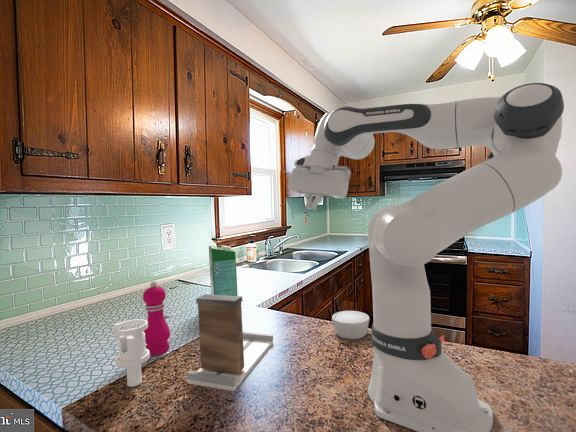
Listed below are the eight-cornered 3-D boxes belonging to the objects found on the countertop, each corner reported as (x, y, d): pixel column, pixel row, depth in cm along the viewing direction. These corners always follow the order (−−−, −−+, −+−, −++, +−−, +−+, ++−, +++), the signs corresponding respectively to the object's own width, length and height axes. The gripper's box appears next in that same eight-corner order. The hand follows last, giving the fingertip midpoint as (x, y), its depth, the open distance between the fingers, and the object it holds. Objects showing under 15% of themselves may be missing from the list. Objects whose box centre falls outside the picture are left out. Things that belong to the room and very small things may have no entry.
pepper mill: (161, 357, 85) (157, 284, 84) (138, 355, 86) (133, 284, 85) (176, 345, 92) (172, 278, 91) (154, 344, 93) (150, 278, 92)
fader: (208, 361, 78) (204, 294, 77) (245, 366, 75) (242, 296, 74) (199, 369, 75) (196, 298, 74) (238, 374, 71) (235, 301, 71)
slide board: (236, 339, 94) (236, 331, 94) (273, 343, 90) (273, 334, 90) (187, 383, 71) (187, 372, 71) (234, 391, 68) (233, 380, 67)
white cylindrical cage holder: (113, 383, 73) (109, 320, 72) (144, 371, 78) (141, 312, 77) (123, 396, 68) (118, 328, 67) (155, 382, 72) (152, 319, 72)
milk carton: (238, 308, 122) (235, 245, 121) (215, 312, 119) (211, 247, 118) (233, 302, 130) (230, 243, 129) (211, 305, 127) (208, 245, 126)
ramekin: (326, 330, 98) (325, 313, 98) (356, 323, 102) (355, 308, 102) (344, 344, 88) (344, 326, 88) (377, 336, 92) (376, 319, 92)
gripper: (357, 170, 89) (345, 216, 88) (302, 167, 103) (291, 207, 102) (347, 162, 85) (334, 211, 84) (291, 160, 98) (279, 202, 97)
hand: (310, 208), depth 93 cm, fingers closed
